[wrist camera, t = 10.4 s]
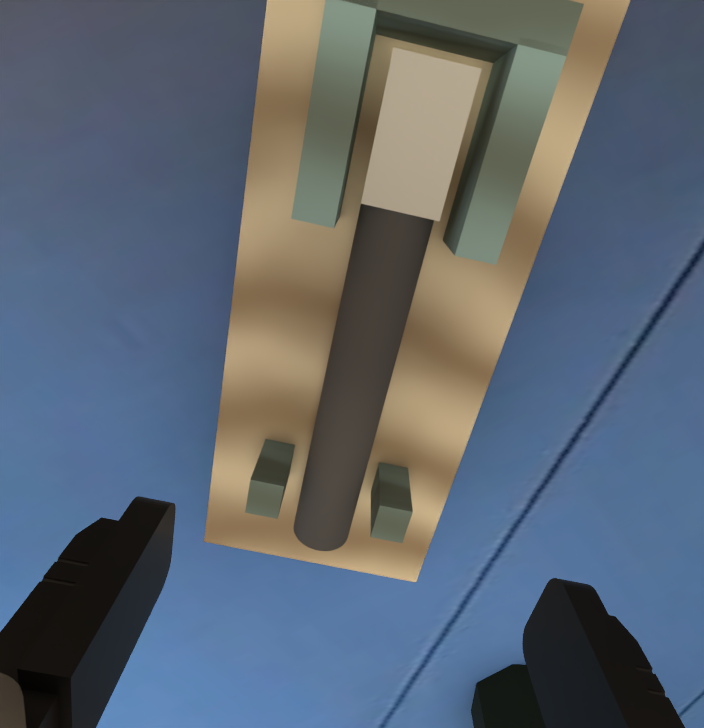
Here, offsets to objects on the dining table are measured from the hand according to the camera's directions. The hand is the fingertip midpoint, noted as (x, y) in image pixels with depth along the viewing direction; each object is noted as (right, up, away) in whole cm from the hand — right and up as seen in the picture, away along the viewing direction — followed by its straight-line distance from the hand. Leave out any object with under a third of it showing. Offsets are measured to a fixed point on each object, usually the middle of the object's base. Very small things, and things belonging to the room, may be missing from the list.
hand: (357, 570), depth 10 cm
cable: (+1, +6, +13) cm, 14 cm away
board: (+1, +6, +14) cm, 16 cm away
